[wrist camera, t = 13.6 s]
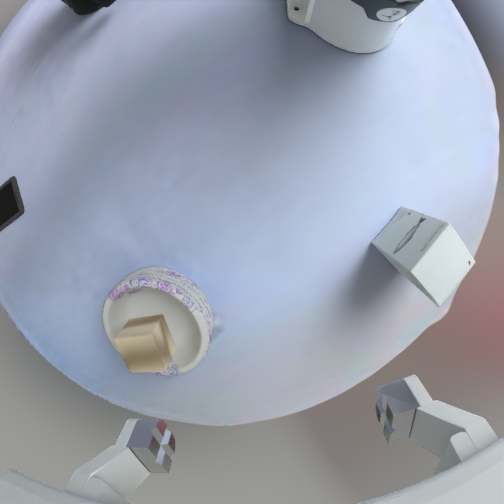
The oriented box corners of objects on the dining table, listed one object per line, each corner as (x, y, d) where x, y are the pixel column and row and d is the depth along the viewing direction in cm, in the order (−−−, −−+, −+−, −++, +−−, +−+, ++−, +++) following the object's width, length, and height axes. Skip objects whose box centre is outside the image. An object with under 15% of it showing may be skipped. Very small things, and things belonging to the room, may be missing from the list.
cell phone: (-18, 205, 39) (-20, 206, 38) (16, 174, 37) (13, 174, 36) (-8, 238, 41) (-11, 239, 40) (26, 211, 39) (24, 212, 38)
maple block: (129, 319, 35) (113, 339, 30) (163, 314, 34) (150, 335, 29) (143, 350, 36) (130, 372, 31) (176, 347, 36) (166, 370, 31)
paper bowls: (143, 352, 45) (127, 381, 38) (109, 270, 41) (84, 289, 34) (228, 340, 44) (223, 372, 36) (200, 248, 40) (187, 267, 32)
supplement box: (401, 204, 38) (451, 220, 25) (428, 238, 39) (477, 263, 27) (368, 241, 39) (409, 271, 27) (398, 273, 40) (440, 309, 28)
